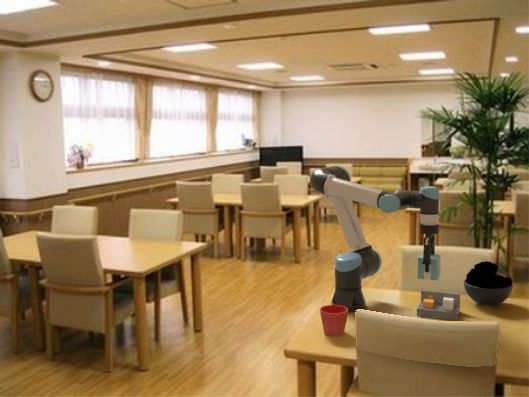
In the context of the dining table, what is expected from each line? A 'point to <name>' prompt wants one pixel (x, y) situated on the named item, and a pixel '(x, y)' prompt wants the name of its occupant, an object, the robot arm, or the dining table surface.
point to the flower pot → (334, 319)
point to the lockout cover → (434, 267)
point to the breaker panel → (439, 305)
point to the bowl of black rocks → (487, 284)
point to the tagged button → (428, 303)
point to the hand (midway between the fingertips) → (429, 276)
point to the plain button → (448, 303)
